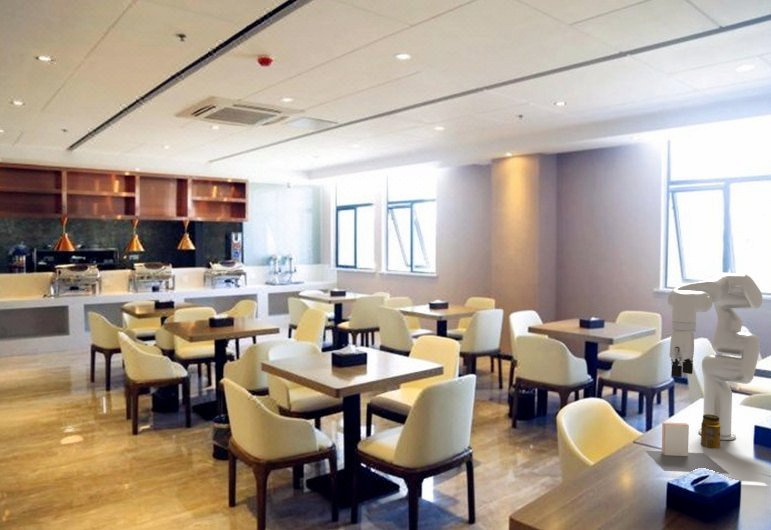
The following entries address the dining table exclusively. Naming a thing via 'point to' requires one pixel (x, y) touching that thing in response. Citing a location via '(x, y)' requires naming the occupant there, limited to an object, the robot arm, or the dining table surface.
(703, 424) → the condiment
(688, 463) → the mat
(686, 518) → the dining table surface
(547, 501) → the dining table surface
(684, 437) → the tile
